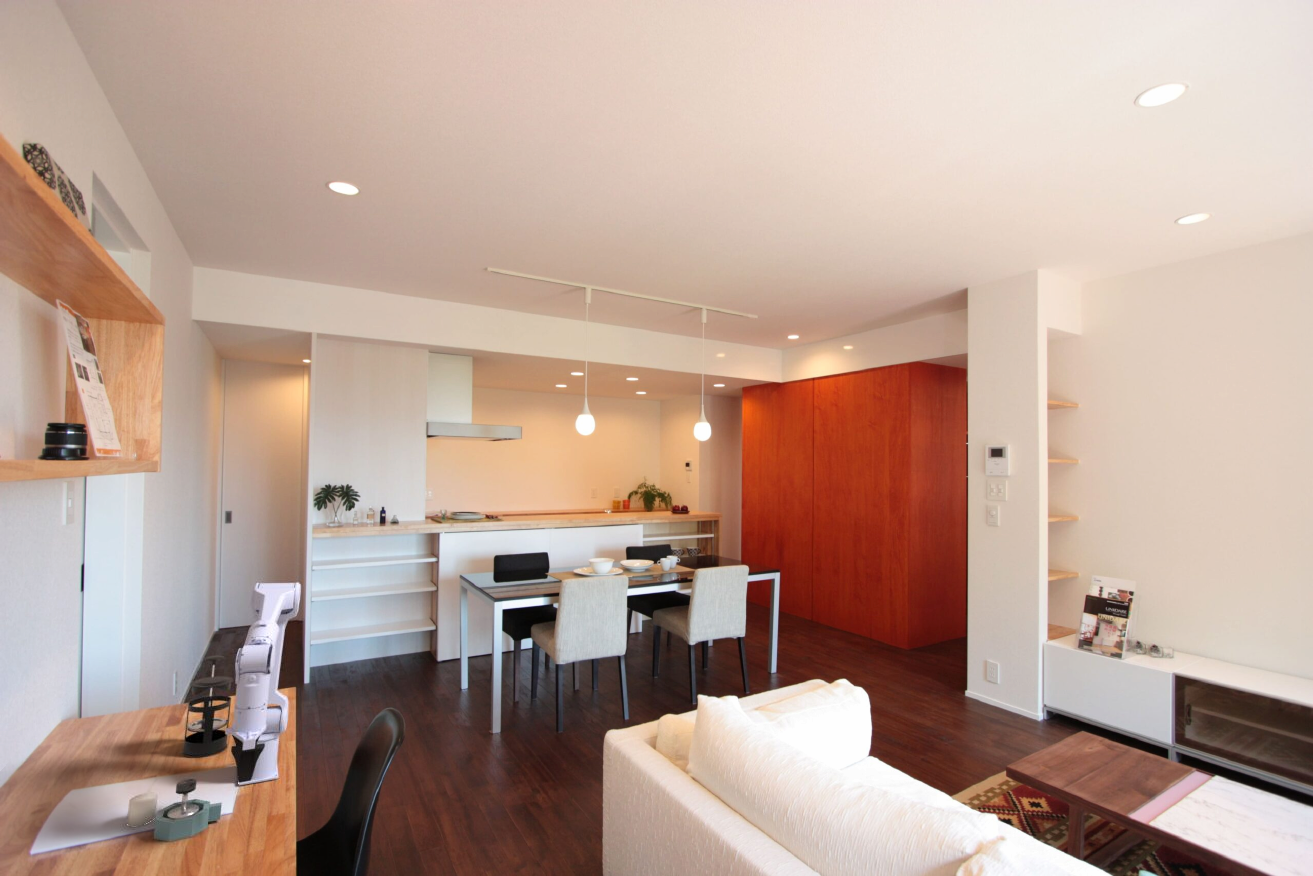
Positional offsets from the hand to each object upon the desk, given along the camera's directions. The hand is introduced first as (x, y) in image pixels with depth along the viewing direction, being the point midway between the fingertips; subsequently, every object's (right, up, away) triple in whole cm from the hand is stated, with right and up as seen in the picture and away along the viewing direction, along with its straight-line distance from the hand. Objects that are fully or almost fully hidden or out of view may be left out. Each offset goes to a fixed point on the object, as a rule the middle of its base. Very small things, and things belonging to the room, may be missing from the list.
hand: (244, 773), depth 129 cm
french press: (-30, -11, +31) cm, 45 cm away
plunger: (-9, -6, -4) cm, 12 cm away
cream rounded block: (-19, -8, -2) cm, 21 cm away
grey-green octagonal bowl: (-10, -9, -4) cm, 14 cm away
